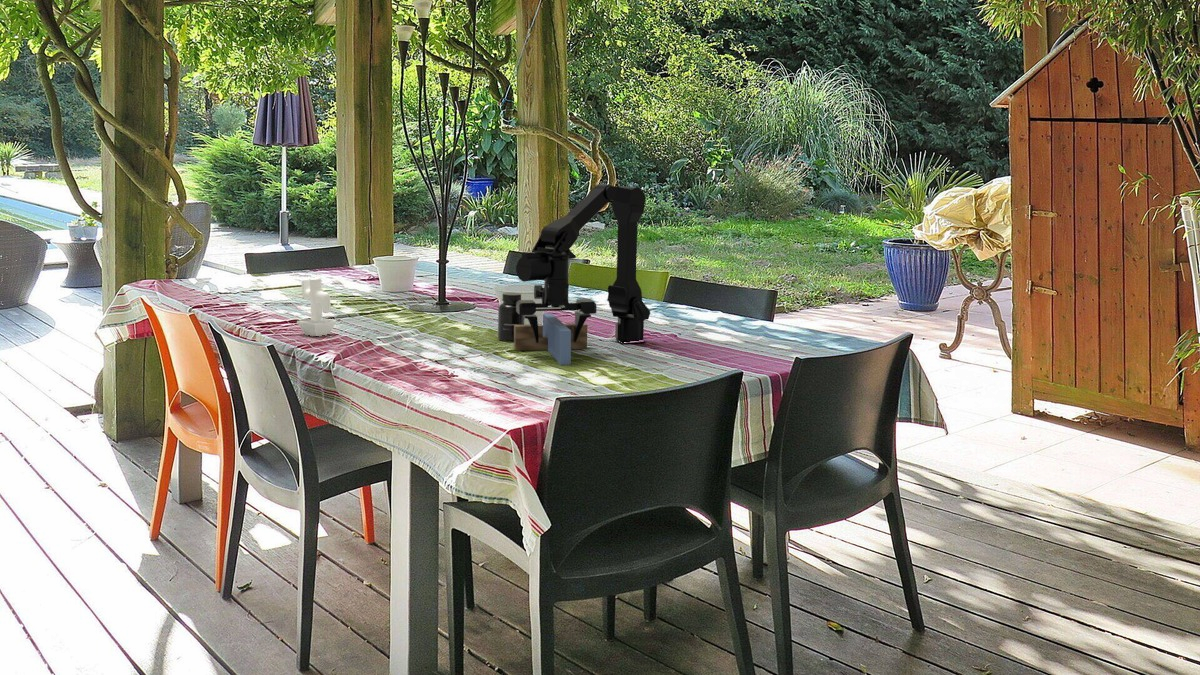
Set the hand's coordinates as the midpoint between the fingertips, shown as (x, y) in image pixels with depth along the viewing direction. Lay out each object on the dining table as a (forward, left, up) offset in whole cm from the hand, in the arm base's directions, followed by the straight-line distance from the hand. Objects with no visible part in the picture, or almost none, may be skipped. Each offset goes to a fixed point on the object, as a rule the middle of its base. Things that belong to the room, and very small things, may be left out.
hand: (556, 342), depth 252 cm
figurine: (+57, -33, -3) cm, 66 cm away
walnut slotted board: (0, -7, -3) cm, 8 cm away
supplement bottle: (+8, -20, -3) cm, 22 cm away
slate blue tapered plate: (0, 0, -3) cm, 3 cm away
